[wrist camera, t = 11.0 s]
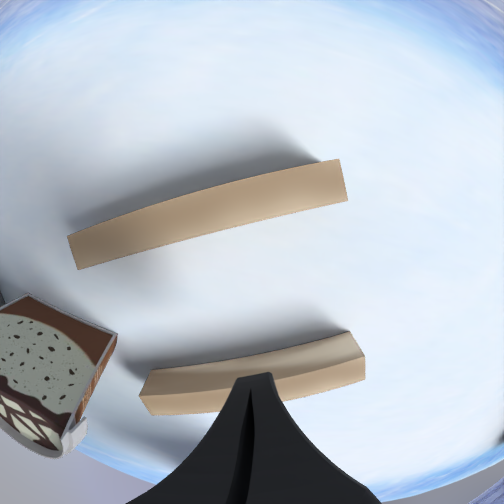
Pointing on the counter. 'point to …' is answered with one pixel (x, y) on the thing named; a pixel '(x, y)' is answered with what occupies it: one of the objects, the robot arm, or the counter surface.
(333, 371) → the pair of beige bars
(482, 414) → the counter surface
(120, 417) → the counter surface
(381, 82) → the counter surface
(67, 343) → the food container
